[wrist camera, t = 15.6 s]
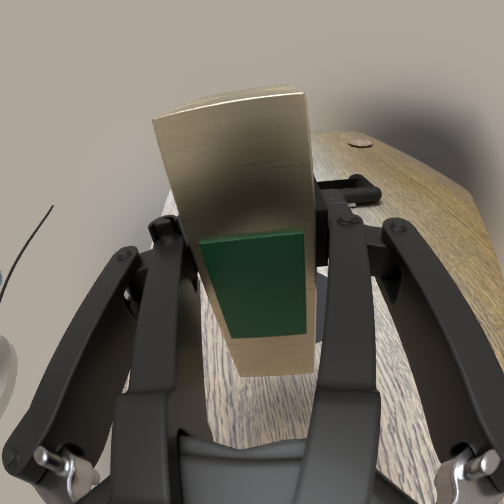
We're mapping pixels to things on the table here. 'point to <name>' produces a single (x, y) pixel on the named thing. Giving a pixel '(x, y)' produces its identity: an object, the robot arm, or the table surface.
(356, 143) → the flatbread
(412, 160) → the table surface
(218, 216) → the tea tin
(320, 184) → the door handle
